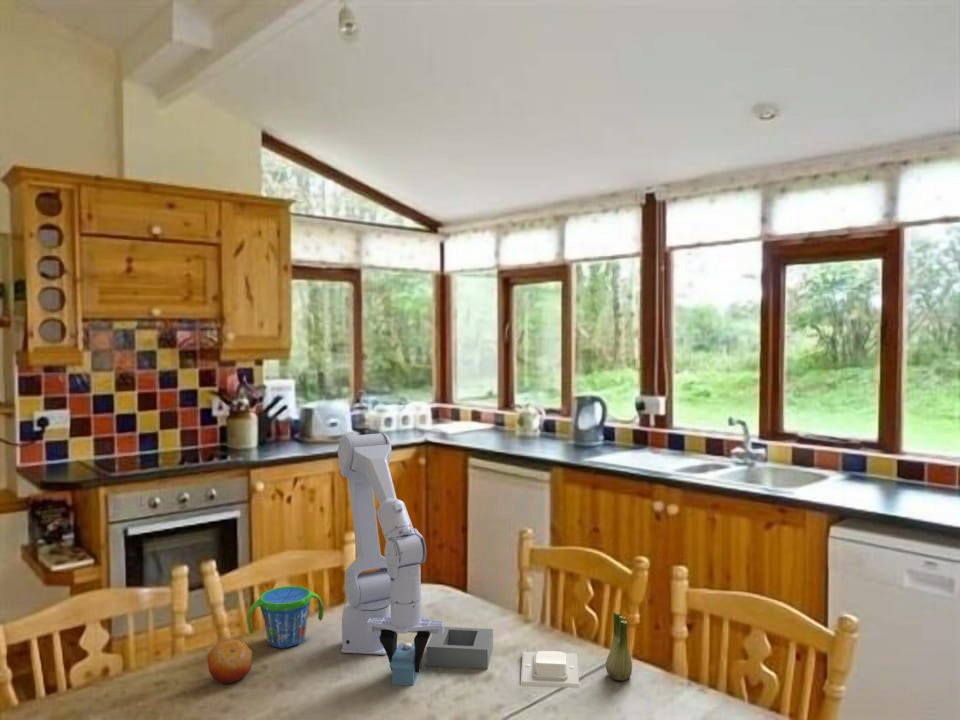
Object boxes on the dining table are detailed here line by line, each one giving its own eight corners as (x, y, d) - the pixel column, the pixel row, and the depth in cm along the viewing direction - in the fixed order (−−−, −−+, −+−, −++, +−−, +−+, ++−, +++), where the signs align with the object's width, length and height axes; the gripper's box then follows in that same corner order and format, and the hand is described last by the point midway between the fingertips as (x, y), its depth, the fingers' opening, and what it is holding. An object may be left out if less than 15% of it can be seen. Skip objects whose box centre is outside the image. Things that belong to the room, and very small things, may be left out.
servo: (389, 688, 136) (389, 658, 135) (401, 665, 145) (401, 637, 145) (411, 689, 135) (410, 659, 135) (421, 666, 145) (421, 638, 144)
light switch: (520, 671, 136) (522, 638, 149) (520, 693, 137) (522, 658, 149) (579, 674, 135) (576, 640, 148) (579, 695, 136) (576, 660, 148)
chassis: (426, 665, 145) (426, 646, 144) (435, 644, 155) (435, 626, 154) (487, 668, 143) (487, 649, 143) (492, 647, 153) (492, 629, 153)
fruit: (235, 655, 146) (244, 626, 143) (251, 687, 142) (261, 658, 139) (195, 668, 141) (203, 639, 138) (211, 701, 136) (220, 672, 133)
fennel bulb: (629, 686, 136) (629, 622, 136) (602, 681, 138) (603, 618, 137) (634, 672, 142) (634, 610, 141) (608, 668, 143) (608, 607, 143)
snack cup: (248, 657, 148) (248, 607, 148) (246, 637, 158) (245, 590, 158) (327, 646, 154) (326, 598, 154) (320, 627, 164) (319, 582, 163)
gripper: (362, 604, 136) (362, 677, 137) (439, 608, 135) (440, 681, 135) (372, 591, 143) (372, 660, 144) (446, 594, 142) (446, 664, 142)
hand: (406, 669), depth 140 cm, fingers closed on servo, 4 cm apart
